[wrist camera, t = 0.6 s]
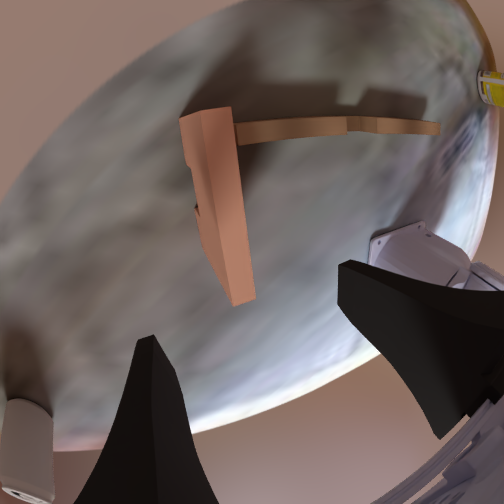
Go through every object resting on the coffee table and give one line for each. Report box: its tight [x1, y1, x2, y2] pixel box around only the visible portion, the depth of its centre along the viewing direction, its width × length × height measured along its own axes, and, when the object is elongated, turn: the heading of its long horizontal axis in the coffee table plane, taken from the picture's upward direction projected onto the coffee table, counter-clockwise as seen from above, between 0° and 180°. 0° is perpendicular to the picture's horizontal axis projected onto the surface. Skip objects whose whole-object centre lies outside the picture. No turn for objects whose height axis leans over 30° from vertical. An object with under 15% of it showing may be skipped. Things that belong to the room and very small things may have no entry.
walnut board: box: [233, 116, 440, 146], centre depth 18 cm, size 20×1×3 cm, turn 96°
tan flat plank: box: [179, 106, 256, 306], centre depth 14 cm, size 9×1×7 cm, turn 6°
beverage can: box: [0, 398, 55, 504], centre depth 14 cm, size 6×6×12 cm
